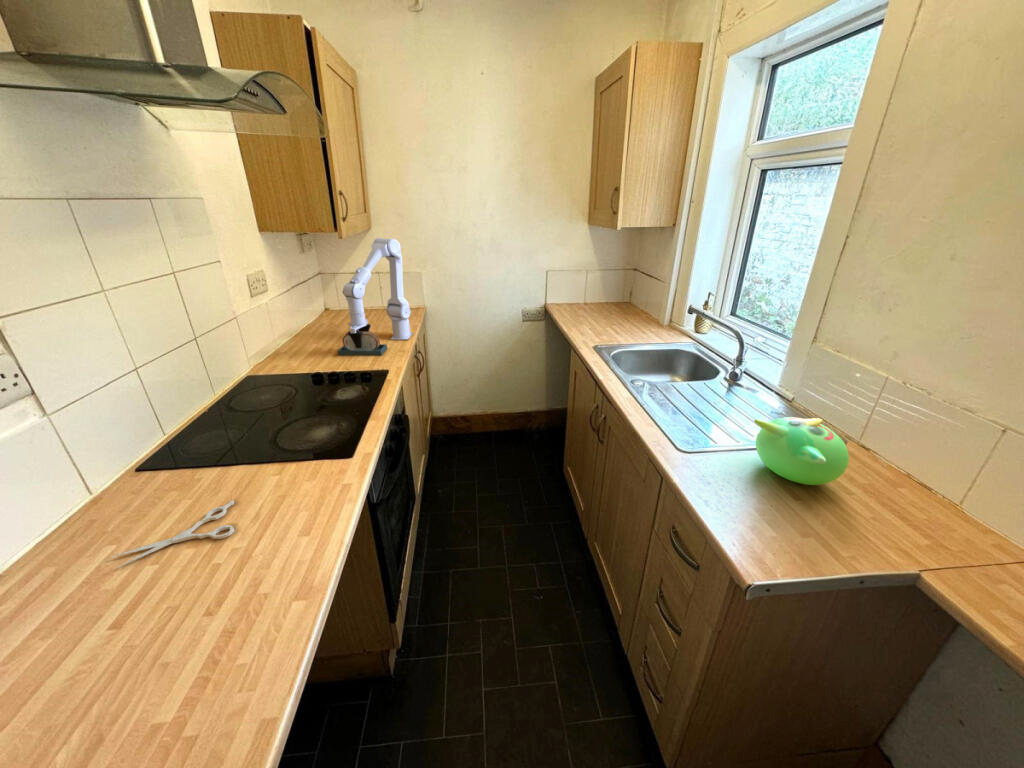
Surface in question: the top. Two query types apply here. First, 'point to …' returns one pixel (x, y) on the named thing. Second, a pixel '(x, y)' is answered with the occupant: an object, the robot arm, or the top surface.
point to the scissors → (190, 533)
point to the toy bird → (801, 450)
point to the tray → (363, 351)
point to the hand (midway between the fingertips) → (362, 344)
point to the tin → (363, 342)
